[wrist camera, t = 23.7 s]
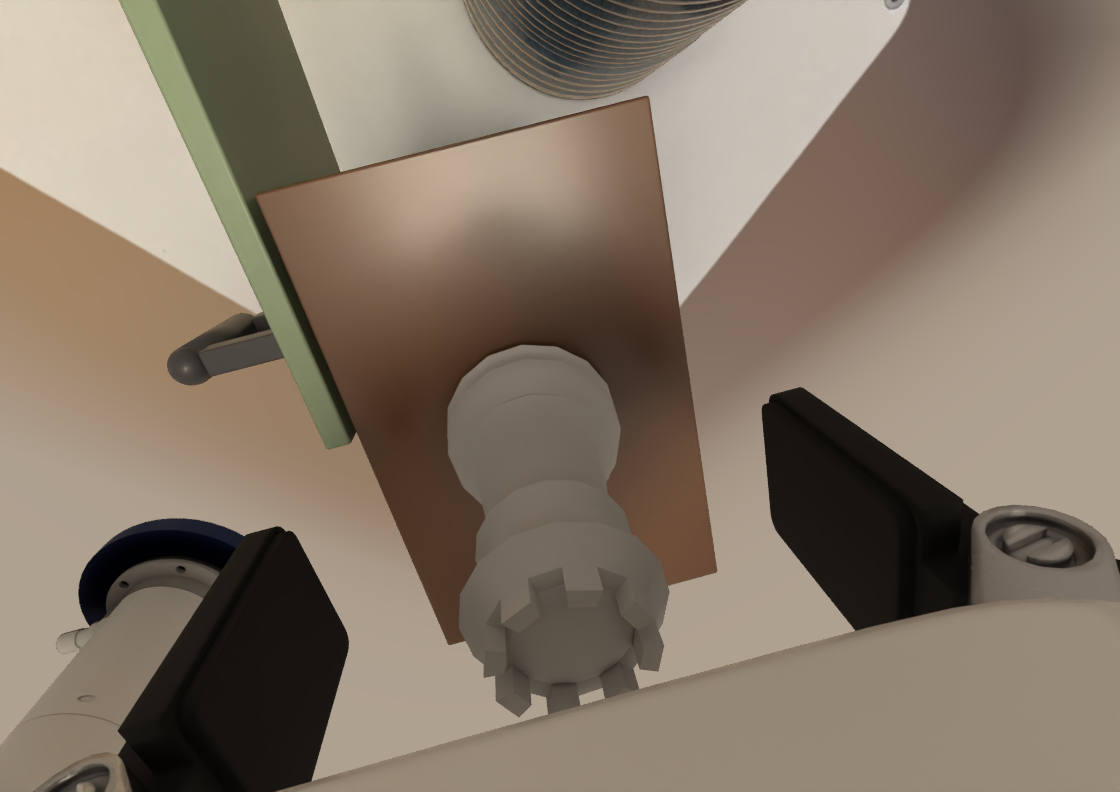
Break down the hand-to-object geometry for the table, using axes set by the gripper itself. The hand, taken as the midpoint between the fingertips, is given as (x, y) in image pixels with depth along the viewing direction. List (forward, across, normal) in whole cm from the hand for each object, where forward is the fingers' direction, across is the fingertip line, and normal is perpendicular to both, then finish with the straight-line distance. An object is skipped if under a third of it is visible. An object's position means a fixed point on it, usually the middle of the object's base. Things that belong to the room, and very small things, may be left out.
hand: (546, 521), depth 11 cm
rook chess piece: (+5, 0, 0) cm, 5 cm away
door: (+15, +7, -8) cm, 18 cm away
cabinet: (+36, +1, 0) cm, 36 cm away
